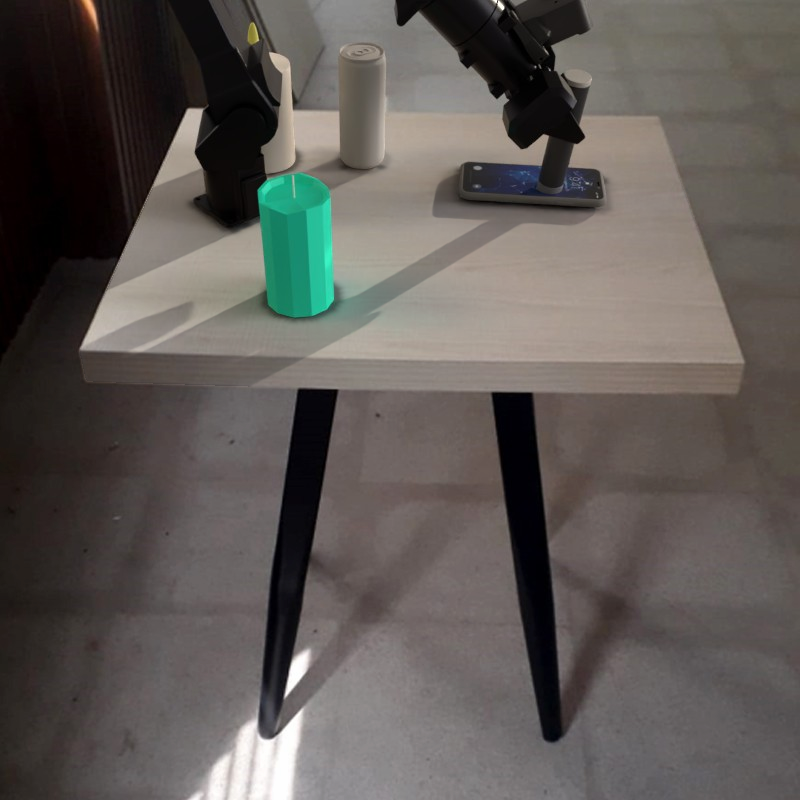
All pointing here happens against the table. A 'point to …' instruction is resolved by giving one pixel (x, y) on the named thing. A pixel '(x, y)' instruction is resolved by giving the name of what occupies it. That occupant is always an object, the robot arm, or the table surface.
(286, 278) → the candle
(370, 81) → the beverage can
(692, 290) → the table surface
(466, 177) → the smartphone
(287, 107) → the candle
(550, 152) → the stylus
